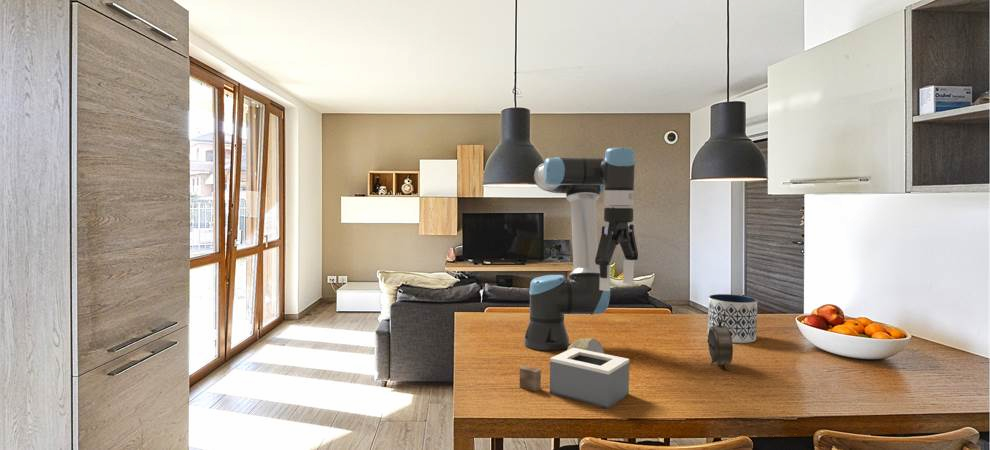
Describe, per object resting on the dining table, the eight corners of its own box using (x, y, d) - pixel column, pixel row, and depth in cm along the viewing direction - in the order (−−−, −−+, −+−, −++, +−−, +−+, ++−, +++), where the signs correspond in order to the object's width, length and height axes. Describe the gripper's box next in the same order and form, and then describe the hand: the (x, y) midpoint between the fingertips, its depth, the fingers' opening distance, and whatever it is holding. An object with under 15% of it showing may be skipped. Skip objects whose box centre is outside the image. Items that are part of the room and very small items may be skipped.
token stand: (519, 386, 135) (519, 368, 135) (524, 384, 137) (524, 365, 136) (535, 391, 132) (535, 372, 132) (540, 388, 134) (540, 369, 133)
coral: (592, 354, 141) (567, 333, 148) (582, 382, 145) (559, 360, 152) (615, 345, 147) (590, 325, 154) (605, 373, 151) (581, 352, 158)
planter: (702, 331, 194) (703, 293, 193) (747, 333, 192) (748, 294, 191) (714, 342, 178) (715, 301, 178) (763, 344, 176) (764, 303, 175)
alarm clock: (733, 372, 147) (735, 316, 146) (713, 371, 148) (715, 315, 147) (723, 360, 158) (724, 308, 157) (704, 359, 159) (705, 307, 158)
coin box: (549, 393, 131) (550, 358, 130) (572, 380, 140) (573, 347, 140) (608, 408, 121) (608, 371, 120) (628, 393, 130) (629, 358, 130)
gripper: (609, 208, 123) (607, 295, 125) (651, 206, 143) (649, 282, 144) (582, 207, 128) (580, 291, 130) (626, 205, 147) (624, 279, 149)
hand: (617, 286), depth 137 cm, fingers open, 13 cm apart
